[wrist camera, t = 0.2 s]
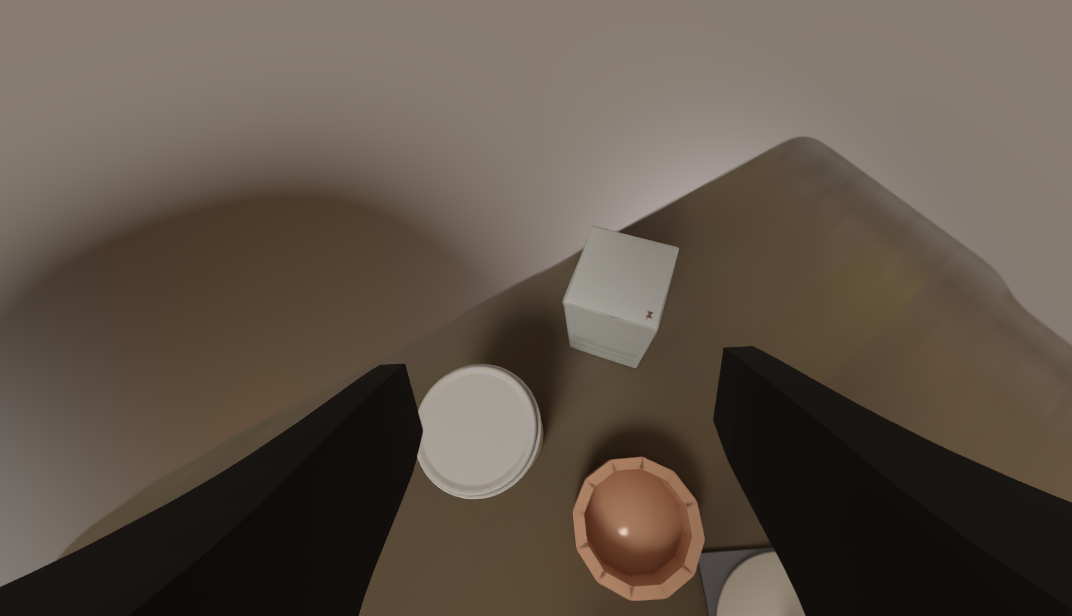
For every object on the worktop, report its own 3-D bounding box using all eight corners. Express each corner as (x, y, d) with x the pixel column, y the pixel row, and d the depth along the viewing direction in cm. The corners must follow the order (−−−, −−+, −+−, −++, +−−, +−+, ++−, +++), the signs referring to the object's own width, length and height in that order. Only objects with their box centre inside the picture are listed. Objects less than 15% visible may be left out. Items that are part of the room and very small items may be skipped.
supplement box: (656, 305, 42) (684, 246, 30) (636, 370, 40) (658, 334, 28) (589, 285, 44) (592, 222, 32) (566, 346, 42) (560, 302, 30)
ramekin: (701, 580, 33) (716, 595, 30) (582, 588, 34) (582, 603, 30) (676, 453, 37) (686, 452, 33) (568, 463, 38) (567, 463, 34)
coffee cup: (523, 371, 41) (501, 338, 30) (570, 454, 38) (565, 453, 27) (443, 418, 40) (390, 402, 29) (484, 507, 37) (442, 528, 26)
